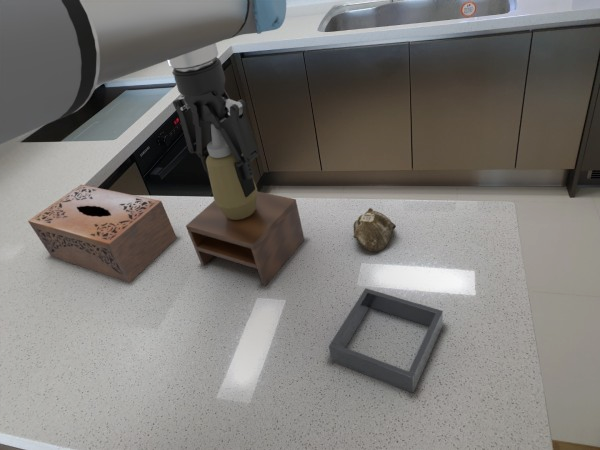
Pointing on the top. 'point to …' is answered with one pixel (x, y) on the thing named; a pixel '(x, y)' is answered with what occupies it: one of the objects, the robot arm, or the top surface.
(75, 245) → the tissue box cover
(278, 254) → the wooden shelf
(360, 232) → the fossilized seashell
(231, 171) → the squeeze bottle
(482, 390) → the top surface
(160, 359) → the top surface
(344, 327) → the holder
